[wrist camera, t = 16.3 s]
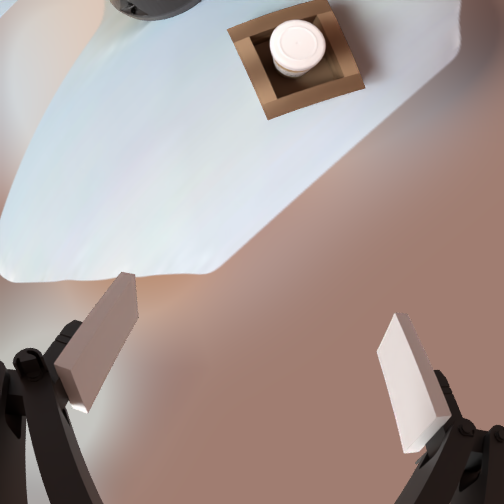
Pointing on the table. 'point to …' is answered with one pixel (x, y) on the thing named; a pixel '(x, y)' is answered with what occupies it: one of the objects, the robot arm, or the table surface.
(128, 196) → the table surface
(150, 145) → the table surface
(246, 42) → the walnut socket block
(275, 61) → the sprinkles bottle
